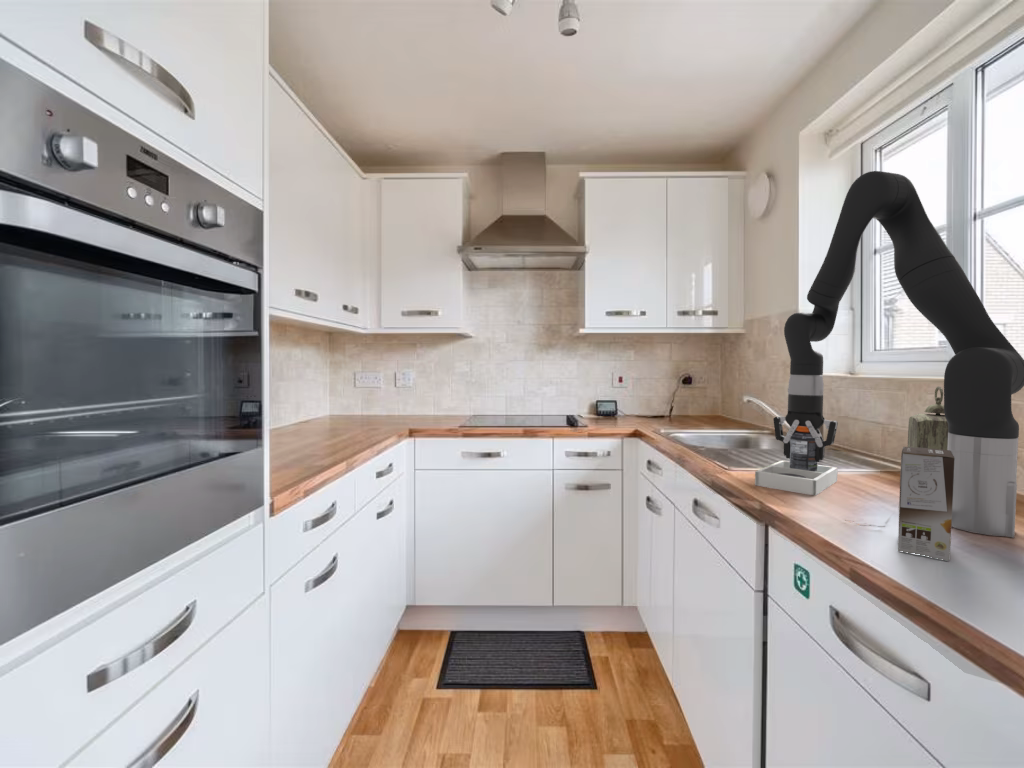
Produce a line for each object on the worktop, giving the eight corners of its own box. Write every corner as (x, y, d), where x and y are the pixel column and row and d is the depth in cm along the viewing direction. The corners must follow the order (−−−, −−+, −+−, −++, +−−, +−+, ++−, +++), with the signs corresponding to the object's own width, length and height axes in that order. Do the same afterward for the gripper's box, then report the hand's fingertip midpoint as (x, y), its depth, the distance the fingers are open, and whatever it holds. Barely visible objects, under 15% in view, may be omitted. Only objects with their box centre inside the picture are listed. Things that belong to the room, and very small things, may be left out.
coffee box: (951, 563, 72) (956, 457, 72) (897, 552, 76) (901, 452, 76) (947, 545, 80) (951, 449, 79) (897, 536, 84) (901, 445, 83)
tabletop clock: (964, 492, 115) (969, 388, 114) (915, 487, 119) (919, 386, 118) (949, 480, 127) (953, 386, 126) (905, 476, 132) (909, 385, 131)
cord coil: (808, 486, 114) (809, 475, 114) (801, 490, 110) (802, 479, 110) (781, 481, 118) (781, 471, 118) (773, 485, 114) (773, 475, 114)
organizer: (837, 485, 120) (837, 467, 120) (815, 500, 106) (816, 480, 106) (781, 476, 129) (782, 460, 129) (754, 490, 115) (755, 471, 115)
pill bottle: (809, 467, 124) (811, 424, 123) (821, 473, 118) (823, 427, 117) (785, 467, 124) (786, 423, 124) (796, 472, 118) (798, 426, 118)
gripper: (843, 394, 118) (840, 462, 118) (778, 391, 128) (776, 454, 129) (836, 395, 112) (833, 466, 113) (769, 392, 123) (767, 457, 123)
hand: (803, 459), depth 121 cm, fingers closed on pill bottle, 6 cm apart
